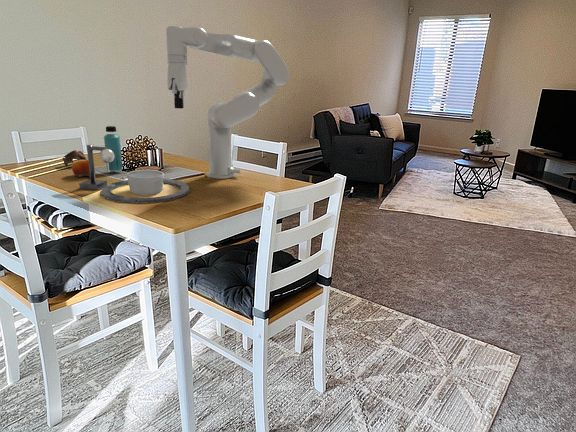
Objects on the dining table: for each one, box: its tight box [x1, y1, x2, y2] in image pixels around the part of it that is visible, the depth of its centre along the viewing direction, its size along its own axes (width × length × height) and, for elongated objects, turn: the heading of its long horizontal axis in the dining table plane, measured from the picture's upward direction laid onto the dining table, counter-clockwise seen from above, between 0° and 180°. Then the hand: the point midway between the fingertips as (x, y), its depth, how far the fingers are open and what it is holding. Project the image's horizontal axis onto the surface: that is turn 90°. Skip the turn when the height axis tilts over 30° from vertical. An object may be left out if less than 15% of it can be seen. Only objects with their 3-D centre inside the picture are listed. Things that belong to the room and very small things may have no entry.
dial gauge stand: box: [78, 144, 115, 191], centre depth 155 cm, size 12×7×16 cm, turn 84°
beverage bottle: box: [103, 125, 123, 172], centre depth 178 cm, size 6×7×20 cm
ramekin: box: [126, 169, 165, 196], centre depth 155 cm, size 13×13×7 cm
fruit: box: [71, 159, 90, 178], centre depth 172 cm, size 8×8×8 cm
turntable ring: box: [100, 178, 190, 204], centre depth 156 cm, size 31×31×1 cm
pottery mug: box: [61, 150, 87, 167], centre depth 189 cm, size 12×10×8 cm
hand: (179, 108), depth 169 cm, fingers closed
